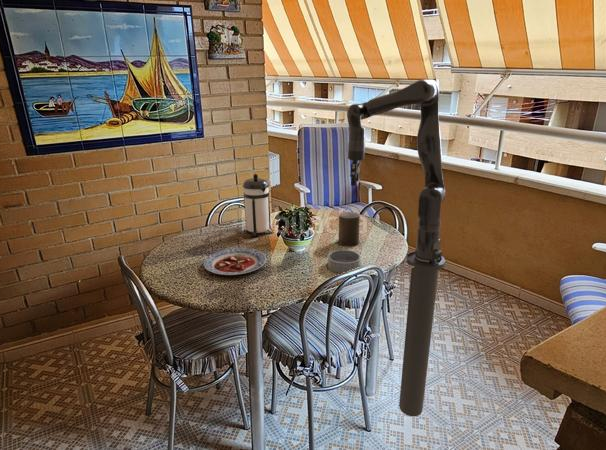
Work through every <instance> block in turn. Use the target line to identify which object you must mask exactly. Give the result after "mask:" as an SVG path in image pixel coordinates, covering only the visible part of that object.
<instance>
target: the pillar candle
mask: <svg viewBox="0 0 606 450" xmlns="http://www.w3.org/2000/svg"><path fill="white" fill-rule="evenodd" d="M360 217H361V215H360V214H359V213H358V212H354V211H344V212H339V214H338V243H339V244H340V245H342V246H345V247H355V246H357V245H359V243H360V221H361V220H360V219H361V218H360Z"/></svg>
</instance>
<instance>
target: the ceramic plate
mask: <svg viewBox="0 0 606 450" xmlns="http://www.w3.org/2000/svg"><path fill="white" fill-rule="evenodd" d="M266 262H267V256H266V255H265V254H264V253H263V252H261V251H259V250H256V249H253V248H245V247H244V248H242V247H241V248H240V247H238V248H235V247H234V248H228V249H227V248H226V249H223V250H219V251H217V252H214V253H212V254H210V255H209V256H207V257H206V258H205V259H204V261H203V267H204V269H206V270H207V271H208V272H210V273H212V274H215V275H221V276H238V275H244V274H249V273H251V272H255V271H257V270H259V269H260V268H262V267H263V266H264V265H265V264H266Z"/></svg>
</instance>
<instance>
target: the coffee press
mask: <svg viewBox="0 0 606 450" xmlns="http://www.w3.org/2000/svg"><path fill="white" fill-rule="evenodd" d="M242 188H243V207H244V217H245V218H244V219H245V228H244V229H243V231H244V232H245V233H247V232H249V233H252V235H253V238H257V236H258V234H262V233H265V232H269V233H270V234H272V233H273V232H274V230H273V228H272V226H271V205H270V204H271V203H270V190H269V188H270V183H269V181H268V180H267V179H265V178H262V177H259V175H258V174H257V173H254V174H253V176H252V177H251V178H247V179H246V180H244V182H243V184H242Z"/></svg>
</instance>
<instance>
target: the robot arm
mask: <svg viewBox="0 0 606 450" xmlns="http://www.w3.org/2000/svg"><path fill="white" fill-rule="evenodd" d="M439 102H440V87H439V85H438V83H437V82H436V81H435V80H434V79H432V78H426V79H425V78H424V79H418V80H416V81H415V82H412V83H411V84H409V85H407V86H405V87H404V88H401V89H399V90H396V91H393V92H391V93H387V94H383V95H380V96H377V97H374V98H371V99H369V100H368V101H365V102H361V103H353V104H351V105H349V107H348V108H347V111H346V119H347V123H348V124H347V125H348V128H349V132H348V133H349V136H348V145H347V159H348V160H350V161H352V162H351V163H350V175H349V177H350V186H351V187H352V186H353V187H355V186H357V182H359V179H360V172H361V162H362V161H364V160H365V153H366V139H365V138H366V128H365V126H363V125H362V120H366V119H369V118H371V117H373V116H378V115H381V114H384V113H388V112H390V111H393V110H395V109H398V108H401V107H404V106H411V105H413V106H414V105H419V108H420V120H419V121H420V122H419V126H418V130H417V135H416V147H417V155H418V158H419V161H420V165H421V167H422V169H423V173H424V174H423V175H424V188H423V189H422V190H421V191H420V193H419V195H418V205H417V217H418V221H417V222H418V223H417V232H416V233H417V234H416V243H415V244H416V245H415V250H414V252H416V253H415V259H416V260H418V261H420V262H424V263H431V264H432V263H434V262H436V261H437V260H438V261H437V263H439V262H440V261H441V260H442V257H443V250H441V243H442V239H440V235H441V227H442V216H441V211H442V210H441V209H442V203H443V202H444V201H445V199H446V186H445V181H444V177H443V157H442V155H443V154H442V138H441V127H440V118H439V117H440V115H439V107H440V106H439V104H440V103H439ZM441 256H442V257H441ZM439 258H440V259H439Z"/></svg>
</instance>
